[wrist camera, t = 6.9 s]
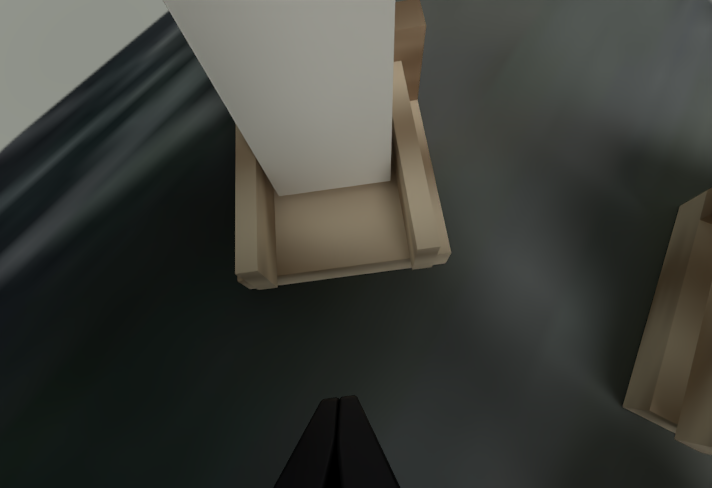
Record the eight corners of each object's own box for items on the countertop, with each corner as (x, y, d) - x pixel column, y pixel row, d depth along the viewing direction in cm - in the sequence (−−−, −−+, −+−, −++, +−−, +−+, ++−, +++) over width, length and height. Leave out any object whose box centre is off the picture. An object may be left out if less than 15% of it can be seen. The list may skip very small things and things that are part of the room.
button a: (390, 180, 16) (398, -116, 6) (279, 196, 16) (121, -70, 6) (378, 108, 17) (369, -224, 8) (275, 123, 17) (142, -184, 8)
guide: (447, 273, 16) (477, 225, 11) (250, 299, 16) (187, 264, 11) (410, 97, 20) (419, -2, 14) (248, 121, 20) (200, 32, 15)
